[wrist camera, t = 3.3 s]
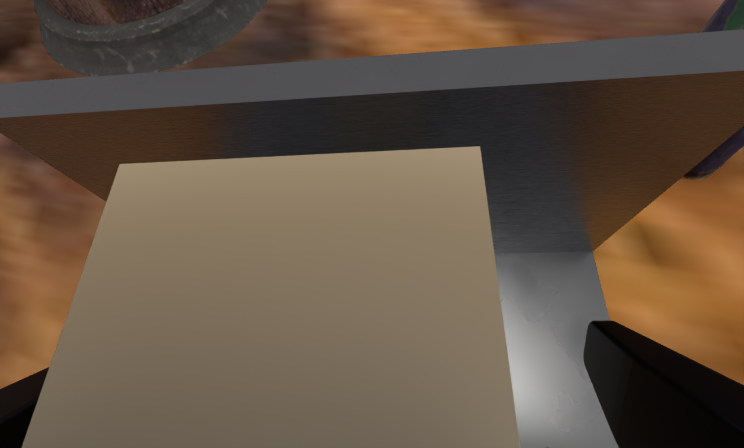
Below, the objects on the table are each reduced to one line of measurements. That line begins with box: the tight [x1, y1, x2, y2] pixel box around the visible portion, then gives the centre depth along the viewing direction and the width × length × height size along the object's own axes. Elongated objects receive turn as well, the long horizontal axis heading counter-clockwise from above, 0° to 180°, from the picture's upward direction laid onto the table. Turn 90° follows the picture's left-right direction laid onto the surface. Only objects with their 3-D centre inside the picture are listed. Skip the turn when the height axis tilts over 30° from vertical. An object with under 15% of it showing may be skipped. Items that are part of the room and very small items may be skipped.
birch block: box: [22, 146, 520, 448], centre depth 8 cm, size 4×3×12 cm
